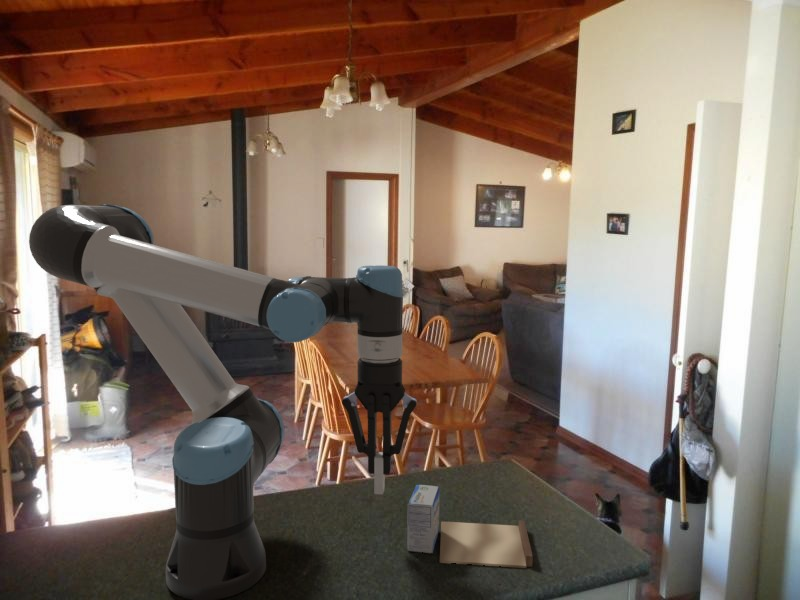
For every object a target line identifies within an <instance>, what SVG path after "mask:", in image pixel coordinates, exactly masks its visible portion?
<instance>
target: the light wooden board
mask: <svg viewBox="0 0 800 600" xmlns="http://www.w3.org/2000/svg"><path fill="white" fill-rule="evenodd" d="M518 526H519V525H514V524H513V525H511V524H495V523H478V522H458V521H440V543H439V544H440V547H439V549H440V550H439V563H440V564H451V563H456V565H467V564H472V565H471V566H483V565H485V566H488V567H499V566H501V567H502V568H505V567H506V568H516V569H517V568H518V569H527V566H526V562H525V557H524V552H523V547H522V542H521V537H520V532H519V527H518Z"/></svg>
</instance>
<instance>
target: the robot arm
mask: <svg viewBox="0 0 800 600" xmlns="http://www.w3.org/2000/svg"><path fill="white" fill-rule="evenodd" d="M28 237H29V240H28V245H29V250H30V253H31V256H32V257H33V259H34V260H35V262H36V264H37V265H38V266H39V267H40V268H41V269H42V270H44V271H45V272H46V273H47V274H49V275H51V276H54V277H55V278H58V279H61V280H65V281H68V282H73V283H76V284H80V285H84V286H87V287H91V288H93V289H94V290H95V291H96V293H97V295H98V296H103V297H107V298H111V299H112V300H113V301H114V302H115V304H116V305H117V307H118V308H119V309H120V311H121V312H122V314H123V315H124V316H125V318H126V319H127V321H128V322H129V324H130V325H131V327H133V329H134V330H135V332H136V333H137V335H138V336H139V338H140V339H141V341H142V342H143V343H144V345H145V346H146V347H147V349H148V350H149V352H150V353H151V354H152V356H153V358H154V359H155V361H156V362H157V363H158V364H159V366H160V367H161V368H162V371H164V373H165V374H166V376H167V377H168V379H169V380H170V381H171V383H172V384H173V386H174V387H175V389H176V390H177V392H179V394H180V396H181V397H182V399H183V400H184V401H185V403H186V404H187V406H188V407H189V408H190V410H191V412H192V413H193V415H192V419H191V424H190V425H188V426H185V428H184V429H183V430H181V432H179V434H177V437H176V439H175V440H174V443H173V455H172V469H173V483H174V486H173V487H174V503H175V504H174V507H175V534H174V538H173V541H172V544H171V547H170V550H169V554H168V557H167V561H166V564H165V581H166V582H165V583H166V586H167V588H168V590H170V591H171V592H172V593H173V594H174V595H176V596H178V597H180V598H183V599H187V600H221V599H226V598H230V597H234V596H235V595H238V594H240V593H243V592H245V591H247V590H249V589H251V588H252V587H253V586H254V585H256V584H257V583H258V582H259V581H261V579H262V577H263V576H264V574H265V573H266V569H267V558H266V556H267V553H266V549H265V547H264V544H263V541H262V537H260V536H261V535H260V533H259V531H258V528H257V526H256V523H255V519H254V518H255V515H254V513H255V512H254V511H255V510H254V509H255V508H254V506H255V505H254V486H255V483H256V482H257V480H258V478H259V477H260V476H261V475H262V474H263V472H264V471H265V470H266V469H267V468H268V466H269V465H270V464H271V463H273V461H274V460H275V458H276V457H277V456H278V454H279V453H280V450H281V447H282V445H283V443H284V440H285V439H284V438H285V423H284V420H283V417H282V415H281V414H280V412H279V410H278V409H277V408H276V407H275V406H274V405H273V404H272V403H270V402H269V401H267V400H264V399H263V400H262V399H261V398H258V397H257V396H256V395H255V393H254V392H253V391H252V389H251V388H250V386H248V385H244V384H239V383H238V382H236V381H235V380H234V379H233V377H232V376H231V374H230V373H229V372H228V370H227V369H226V367H225V366H224V364H223V362H221V360H220V359H219V357H218V356H217V354H216V353H215V352H214V350H213V349H212V347H211V346H210V345H209V343H208V341H207V340H206V338H205V337H204V336H203V334H202V333H201V331H200V330H199V329H198V327H197V326H196V325H195V323H194V321H193V320H192V318H191V317H190V315H189V314H188V313H187V311H185V309H184V307H189V308H191V309H192V308H193V309H194V310H195V309H196V310H199V311H203V312H206V313H210V314H213V315H217V316H221V317H225V318H228V319H232V320H234V321H239V322H243V323H247V324H251V325H254V326H256V327H261V328H264V329H267V330H270V331H271V332H272V333H273V335H275V336H276V338H278V339H280V340H281V341H284V342H287V343H299V342H303V341H305V340H308V339H310V338H313V337H314V336H316V335H317V334H319V332H320V331H322V328H324V326H326V325H327V324H329V323H348V324H352V323H356V327H357V352H356V353H357V354H356V355H357V356H358V357H359V359H358V360H357V384H356V386H355V388H354V391H353V392H351V393H350V394H346V395H345V396H344V397H343V398H342V400H341V404H342V405H343V407H344V409H345V411H346V412H347V415H348V418H349V422H350V427H351V430H352V435H353V438H354V442H355V446H356V450H357V452H358V453H360V454H365V455H366V456H367V472H368V474H369V475H370V474H371V475H372V474H373V478H374V481H373V482H374V483H373V486H374V487H373V488H374V492H373V494H374V495H384V491H385V489H386V488H385V485H386V481H385V475H390V473H391V469H392V456H393V455H400V453H401V450H402V447H403V443H404V440H405V435H406V432H407V428H408V425H409V421H410V417H411V414H412V413H413V412H414V410H415V408H416V407H417V404H418V399H417V397H415V396H410V395H409V394H408V393H407V392H406V389H405V387H404V385H403V360H402V359H401V357H402V356H403V315H404V312H403V310H404V308H403V307H404V292H403V291H404V290H403V273H402V271H401V269H399V268H398V267H397V266H395V265H394V266H393V265H363V266H362V265H361V266H360V267H358V269H357V271H356V272H357V274H356V275H355V277H346V278H345V277H320V276H317V277H315V276H310V275H309V276H308V275H307V276H306V275H305V276H298V277H297V276H296V277H295V276H294V277H290V278H289V279H287V280H283V279H278V278H275V277H272V276H268V275H265V274H261V273H258V272H254V271H251V270H250V271H249V270H247V269H244V268H240V267H236V266H232V265H229V264H225V263H222V262H218V261H214V260H210V259H206V258H202V257H199V256H196V255H193V254H188V253H185V252H182V251H181V252H180V251H177V250H174V249H171V248H167V247H163V246H159V245H156V244H154V235H153V232H152V229H151V227H150V225H149V224H148V222H147V221H146V220H145V219H144V217H142V216H141V215H140V214H138V213H137V212H136V211H134V210H132V209H130V208H127V207H124V206H119V205H116V204H115V205H114V204H99V205H81V204H77V205H76V204H64V205H63V204H62V205H59V206H55V207H51V208H50V209H48V210H46V211H45V212H43V213H42V214H41V215H40V216H39V217H38V218H37V219H36V220H35V221H34V222H33V225H32V226H31V229H30V232H29V235H28ZM183 306H184V307H183ZM401 400H402V404H401V405H402V408H403V412H402V416H401V419H400V423H399V428H398V431H397V435H396V438H395V442H394V444H392V412H393V411H394V409H395V408H396V407H397V406H398V405H399V403H400V402H401ZM358 401H359V402H360V403H361V405H362V406H363V408H364V409H365V410H366V412H367V416H366V417H367V441H366V438H365V435H364V434H365V433H364V430H363V426H362V421H361V417H360V413H359V411H358V410H359V409H358V406H357V405H358ZM377 413H382V451H377V437H378V436H377V433H378V432H377V430H378V429H377V426H378V424H377V420H378V419H377Z"/></svg>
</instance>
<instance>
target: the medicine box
mask: <svg viewBox="0 0 800 600" xmlns="http://www.w3.org/2000/svg"><path fill="white" fill-rule="evenodd" d="M440 490H441V489H440V486H438V485H437V486H435V485H427V484H416V485H415V488H414V490H413V492H412V495H411V497H410V499H409V500H408V501H409V502H408V504H407V508H406V509H407V511H406V512H407V513H406V514H407V518H406V520H407V523H406V525H407V527H406V530H407V531H406V532H407V536H406V538H407V539H406V544H407V551H408V552H415V553H422V552H423V554H431V553H432V554H433V553H434V549H435V546H436V541H437V539H438V535H439V530H440Z"/></svg>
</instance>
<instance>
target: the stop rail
mask: <svg viewBox="0 0 800 600" xmlns="http://www.w3.org/2000/svg"><path fill="white" fill-rule="evenodd" d="M517 526H518V527H519V532H520V537H521V542H522V547H523V552H524V557H525V562H526V568H527V567H528V568H529V567H533V559H534V558H533V552H532V547H531V542H530V539H529V536H528V535H529V534H528V531H527V527H526V526H527V525H526V521H525V520H524V519H518V525H517Z"/></svg>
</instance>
